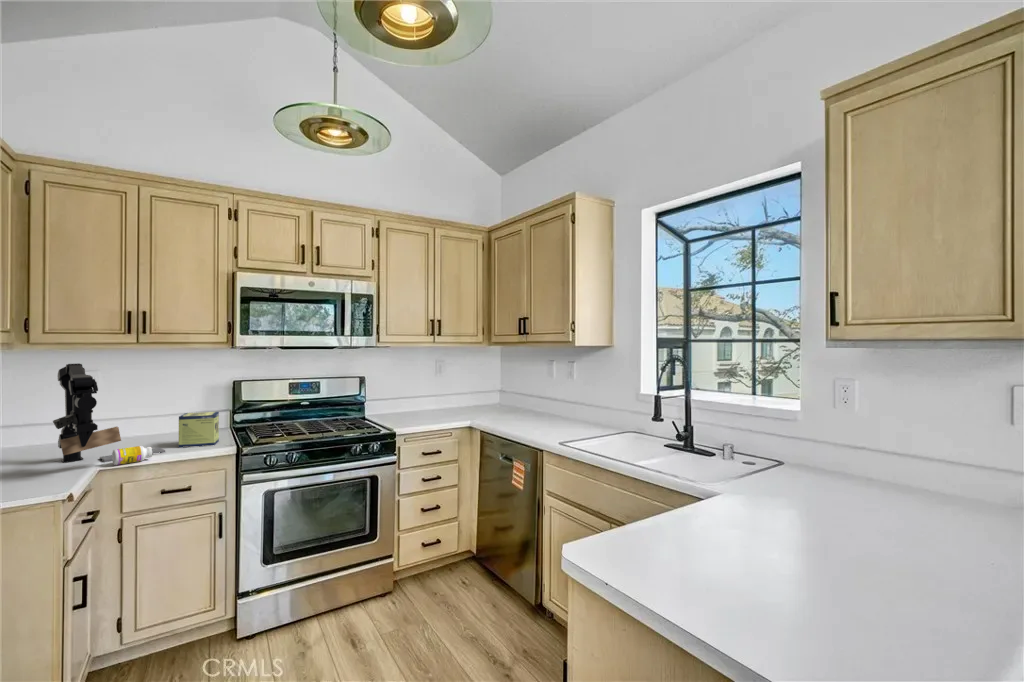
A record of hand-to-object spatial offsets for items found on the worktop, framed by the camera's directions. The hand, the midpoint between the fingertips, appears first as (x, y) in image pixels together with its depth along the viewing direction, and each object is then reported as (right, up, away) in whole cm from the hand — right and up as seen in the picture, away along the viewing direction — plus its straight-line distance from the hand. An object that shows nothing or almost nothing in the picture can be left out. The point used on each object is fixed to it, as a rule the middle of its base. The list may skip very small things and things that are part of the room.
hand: (82, 446), depth 191 cm
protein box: (+17, -10, +46) cm, 50 cm away
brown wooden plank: (+2, -1, +3) cm, 3 cm away
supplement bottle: (+6, -7, +7) cm, 12 cm away
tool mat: (+2, -10, +24) cm, 25 cm away
